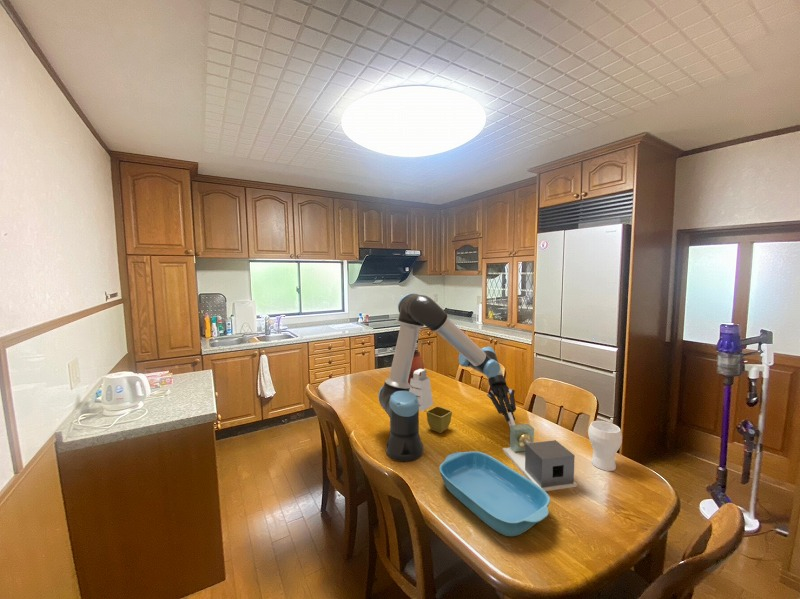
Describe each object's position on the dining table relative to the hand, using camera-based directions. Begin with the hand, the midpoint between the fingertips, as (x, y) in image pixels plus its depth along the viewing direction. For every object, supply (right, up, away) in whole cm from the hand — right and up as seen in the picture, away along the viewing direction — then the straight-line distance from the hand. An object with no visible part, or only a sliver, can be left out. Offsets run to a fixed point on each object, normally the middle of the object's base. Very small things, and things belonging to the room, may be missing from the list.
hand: (513, 428), depth 138 cm
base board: (+3, -8, -17) cm, 18 cm away
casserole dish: (-19, -10, -34) cm, 40 cm away
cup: (+28, -8, -16) cm, 33 cm away
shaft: (+2, -6, -13) cm, 15 cm away
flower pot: (-30, -6, +13) cm, 33 cm away
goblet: (-43, -2, +61) cm, 74 cm away
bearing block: (+4, -7, -24) cm, 25 cm away
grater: (-37, -4, +40) cm, 55 cm away
